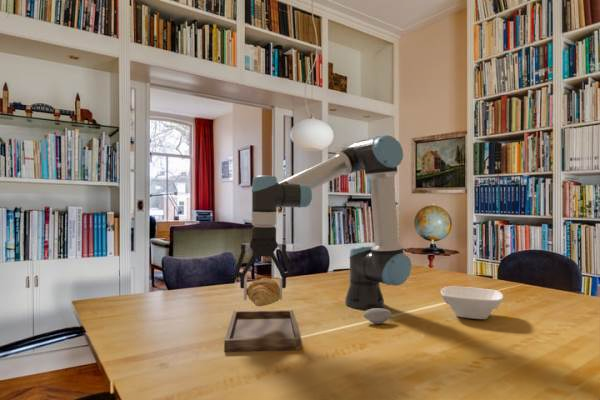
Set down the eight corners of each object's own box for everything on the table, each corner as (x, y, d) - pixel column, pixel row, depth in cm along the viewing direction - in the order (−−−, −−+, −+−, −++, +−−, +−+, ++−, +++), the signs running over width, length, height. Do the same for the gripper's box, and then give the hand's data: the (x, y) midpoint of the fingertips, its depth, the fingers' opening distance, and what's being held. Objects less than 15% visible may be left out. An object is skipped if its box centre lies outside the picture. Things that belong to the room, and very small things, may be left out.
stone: (388, 320, 135) (388, 305, 135) (394, 325, 130) (394, 309, 130) (360, 321, 134) (360, 306, 134) (366, 326, 128) (366, 311, 128)
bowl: (502, 313, 146) (502, 289, 146) (505, 328, 127) (505, 301, 127) (443, 306, 155) (443, 284, 155) (437, 320, 136) (437, 295, 136)
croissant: (269, 321, 110) (282, 296, 110) (237, 304, 110) (251, 279, 110) (275, 301, 131) (286, 280, 131) (248, 287, 131) (260, 266, 131)
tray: (293, 318, 136) (293, 310, 136) (300, 349, 107) (300, 338, 107) (233, 320, 134) (233, 311, 134) (224, 351, 105) (224, 340, 105)
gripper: (299, 225, 126) (298, 295, 125) (227, 225, 124) (226, 296, 123) (301, 227, 118) (301, 301, 118) (225, 226, 116) (224, 302, 116)
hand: (263, 298), depth 121 cm, fingers closed on croissant, 10 cm apart
